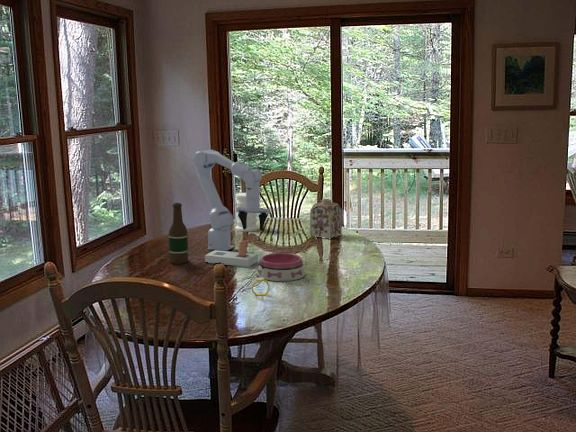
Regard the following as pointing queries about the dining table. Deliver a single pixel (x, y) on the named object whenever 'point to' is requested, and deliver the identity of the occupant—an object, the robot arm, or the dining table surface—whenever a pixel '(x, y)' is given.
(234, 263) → the hole block
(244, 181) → the robot arm
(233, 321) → the dining table surface
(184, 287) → the dining table surface
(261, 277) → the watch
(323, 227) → the decorative jar
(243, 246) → the peg
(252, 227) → the decorative container
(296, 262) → the dog bowl
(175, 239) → the beer bottle
